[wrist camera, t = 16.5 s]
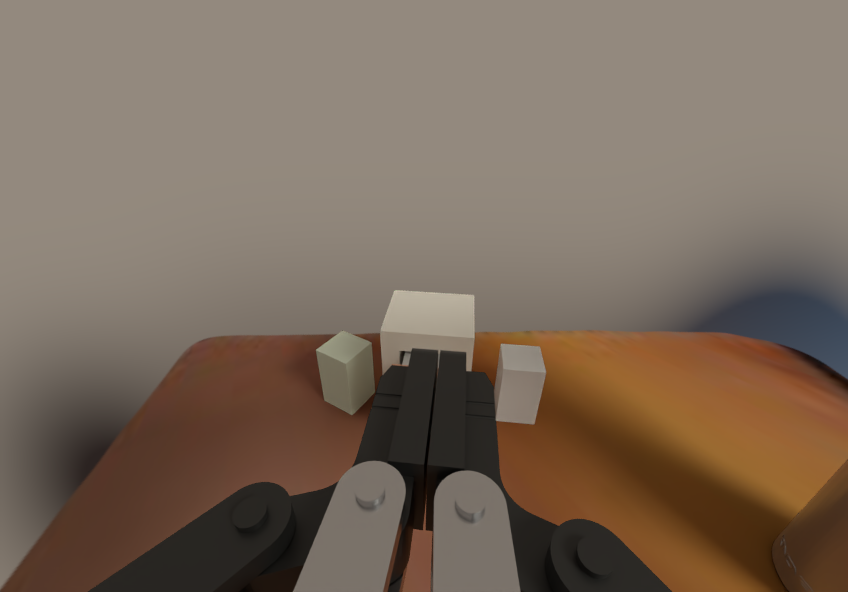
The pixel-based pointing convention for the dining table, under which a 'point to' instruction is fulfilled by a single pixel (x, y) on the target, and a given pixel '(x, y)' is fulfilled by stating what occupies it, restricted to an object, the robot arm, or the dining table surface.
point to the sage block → (346, 371)
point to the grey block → (518, 383)
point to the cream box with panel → (427, 325)
